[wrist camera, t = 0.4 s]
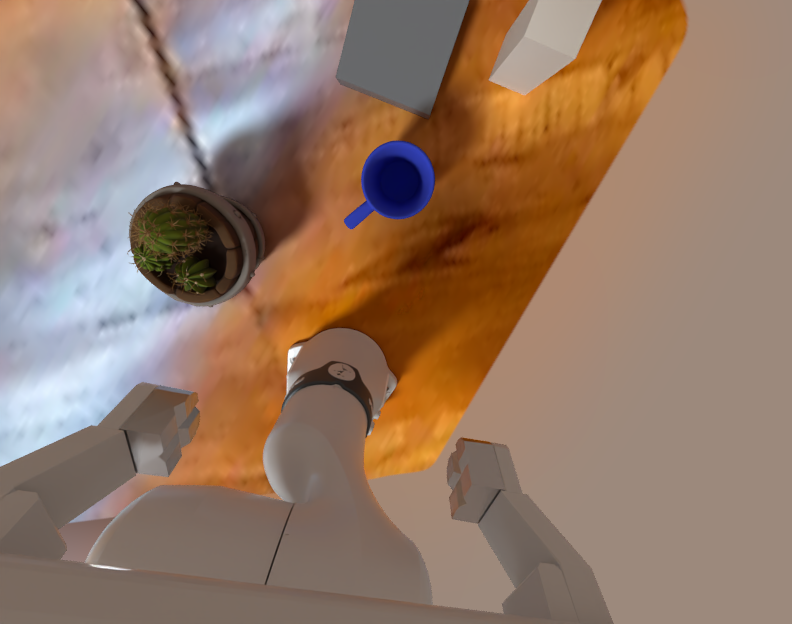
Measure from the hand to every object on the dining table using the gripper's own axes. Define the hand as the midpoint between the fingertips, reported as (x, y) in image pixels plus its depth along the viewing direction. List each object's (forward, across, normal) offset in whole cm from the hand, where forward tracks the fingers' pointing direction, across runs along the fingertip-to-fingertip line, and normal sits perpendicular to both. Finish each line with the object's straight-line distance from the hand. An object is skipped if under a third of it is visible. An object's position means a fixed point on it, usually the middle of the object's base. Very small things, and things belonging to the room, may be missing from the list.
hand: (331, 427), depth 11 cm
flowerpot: (+42, -21, -13) cm, 49 cm away
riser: (+46, -1, +17) cm, 49 cm away
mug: (+43, 0, -2) cm, 43 cm away
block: (+45, +13, +16) cm, 50 cm away
